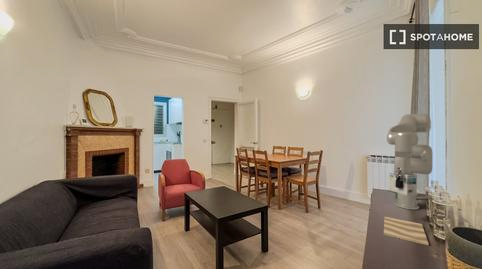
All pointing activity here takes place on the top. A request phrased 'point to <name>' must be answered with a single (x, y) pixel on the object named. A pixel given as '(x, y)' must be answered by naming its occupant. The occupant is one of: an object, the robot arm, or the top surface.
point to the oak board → (405, 230)
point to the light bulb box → (404, 184)
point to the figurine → (395, 193)
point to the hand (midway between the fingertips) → (402, 186)
